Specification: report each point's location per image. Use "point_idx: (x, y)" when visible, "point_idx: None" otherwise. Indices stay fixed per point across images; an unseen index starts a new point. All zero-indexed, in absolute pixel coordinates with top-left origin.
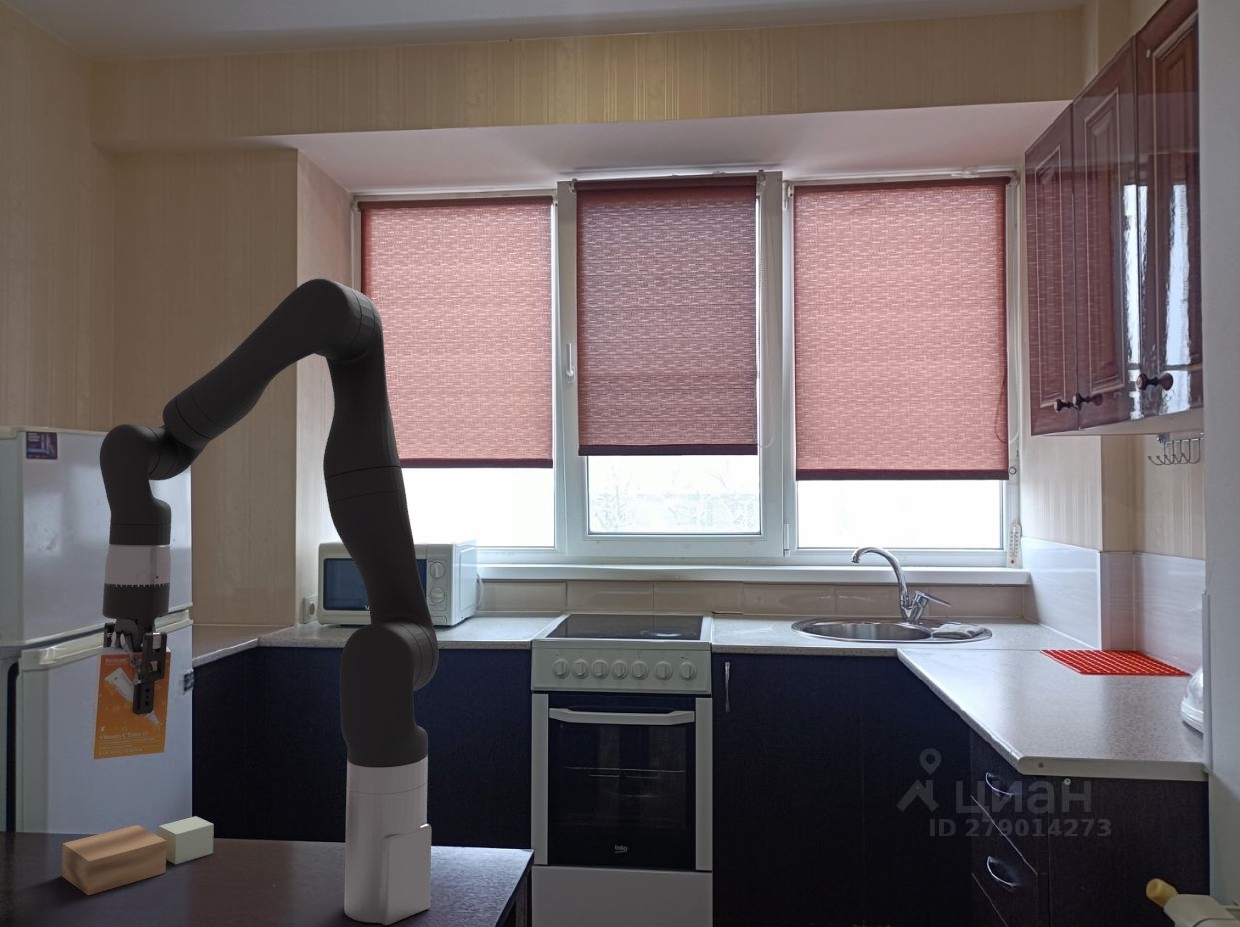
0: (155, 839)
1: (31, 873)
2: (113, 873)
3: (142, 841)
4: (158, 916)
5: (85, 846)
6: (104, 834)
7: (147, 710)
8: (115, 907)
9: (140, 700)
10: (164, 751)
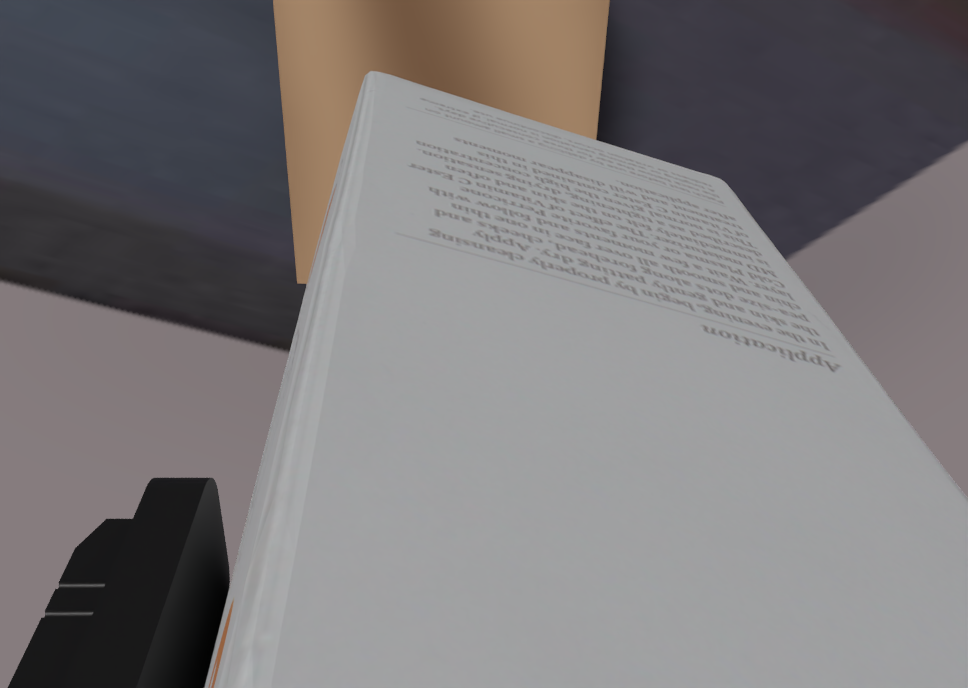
0: (550, 18)
1: (216, 282)
2: None
3: (527, 68)
4: (930, 158)
5: None
6: (305, 139)
7: None
8: None
9: None
10: (721, 180)
